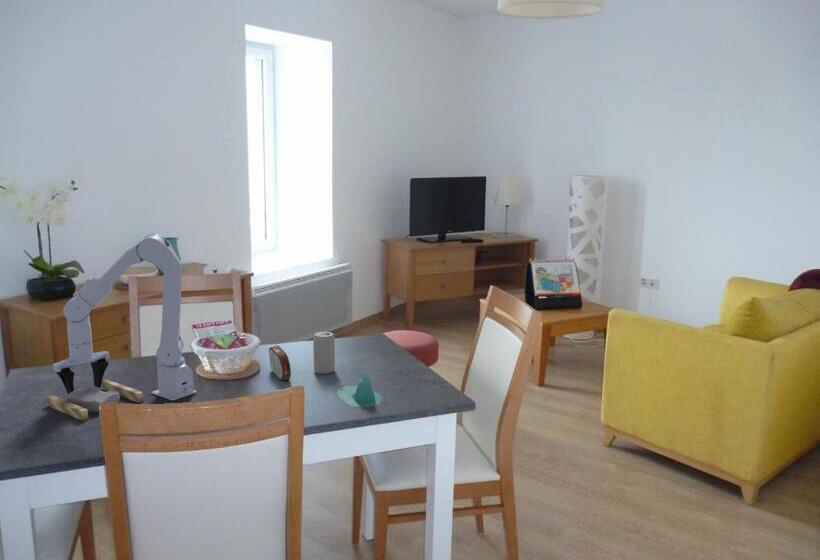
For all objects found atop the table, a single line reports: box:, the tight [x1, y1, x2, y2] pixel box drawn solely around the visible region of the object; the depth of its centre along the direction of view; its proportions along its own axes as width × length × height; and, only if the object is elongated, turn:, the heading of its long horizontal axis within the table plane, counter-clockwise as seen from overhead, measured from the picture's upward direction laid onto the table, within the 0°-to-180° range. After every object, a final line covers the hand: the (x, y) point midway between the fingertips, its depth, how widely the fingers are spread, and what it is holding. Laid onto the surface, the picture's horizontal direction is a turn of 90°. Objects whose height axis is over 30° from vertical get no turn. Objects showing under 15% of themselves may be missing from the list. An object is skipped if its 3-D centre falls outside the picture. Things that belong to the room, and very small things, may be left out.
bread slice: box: [268, 345, 292, 381], centre depth 207 cm, size 15×3×8 cm, turn 26°
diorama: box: [336, 371, 383, 408], centre depth 191 cm, size 12×20×9 cm, turn 26°
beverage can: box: [312, 331, 336, 375], centre depth 211 cm, size 6×6×12 cm
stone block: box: [64, 387, 121, 413], centre depth 183 cm, size 12×5×10 cm
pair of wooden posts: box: [46, 379, 144, 422], centre depth 184 cm, size 17×17×2 cm
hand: (84, 390), depth 187 cm, fingers open, 7 cm apart
